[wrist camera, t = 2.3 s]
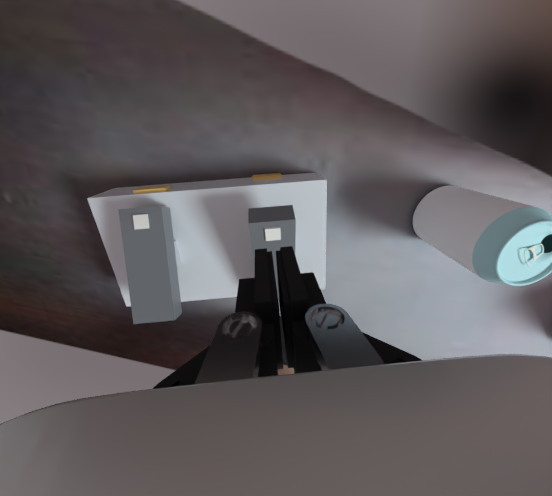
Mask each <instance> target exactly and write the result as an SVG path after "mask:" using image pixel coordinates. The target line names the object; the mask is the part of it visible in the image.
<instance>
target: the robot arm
mask: <svg viewBox="0 0 552 496" xmlns="http://www.w3.org/2000/svg"><path fill="white" fill-rule="evenodd" d="M276 262H277V276H278V290H279V303H280V312H281V319H282V327H283V334H284V342H285V350H286V357H287V365H288V368H294V374H285V375H278V369H283V356H282V343H281V330H280V316H279V304H278V295H277V287H276V279H275V271H274V263H273V255H272V251H267V248H265V249H255V277H254V278H245V279H239V284H238V292H237V301H236V309H235V313H233V314H230V315H229V316H227V317H225V318H224V319H223V320H222V321H221V322H220V324H219V325H218V328H217V330H216V333H215V335H214V337H213V340H212V342H211V345H210V346H209V347H207V348H206V349H205V350H203V351H202V352H201V353H199V354H198V355H196V356H195V357H194V358H192V359H191V360H190V361H188V362H187V363H186V364H184V365H183V366H181V367H180V368H179V369H177V370H176V371H175V372H173V373H172V374H171V375H169V376H168V377H166V378H165V379H164V380H162V381H161V382H160V383H158V384H157V385H156V386H155V387H154V388H153V389H149V390H140V391H131V392H124V393H116V394H110V395H103V396H95V397H88V398H82V399H77V400H72V401H68V402H63V403H58V404H55V405H52V406H48V407H45V408H41V409H38V410H35V411H32V412H29V413H27V414H24V415H21V416H19V417H16V418H14V419H11V420H9V421H6V422H4V423H1V424H0V496H552V357H544V356H533V355H522V354H497V355H482V356H467V357H454V358H444V359H433V360H421V359H419V358H417V357H416V356H414V355H411V354H409V353H407V352H405V351H403V350H400V349H398V348H396V347H394V346H391V345H389V344H387V343H385V342H383V341H380V340H378V339H376V338H374V337H371V336H369V335H367V334H365V333H363V332H361V330H360V329H359V328H358V326H357V325H356V324H355V322H354V321H353V320H352V318H351V317H350V316H349V314H348V313H347V312H346V311H345V310H344V309H342V308H341V307H339V306H336V305H333V304H326V302H325V300H324V297H323V295H322V292H321V290H320V287H319V285H318V282H317V280H316V277H315V275H314V273H313V272H310V273H300V269H299V266H298V263H297V260H296V257H295V253H294V250H293V247H292V246H288V247H280V250H279V251H276Z"/></svg>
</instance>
